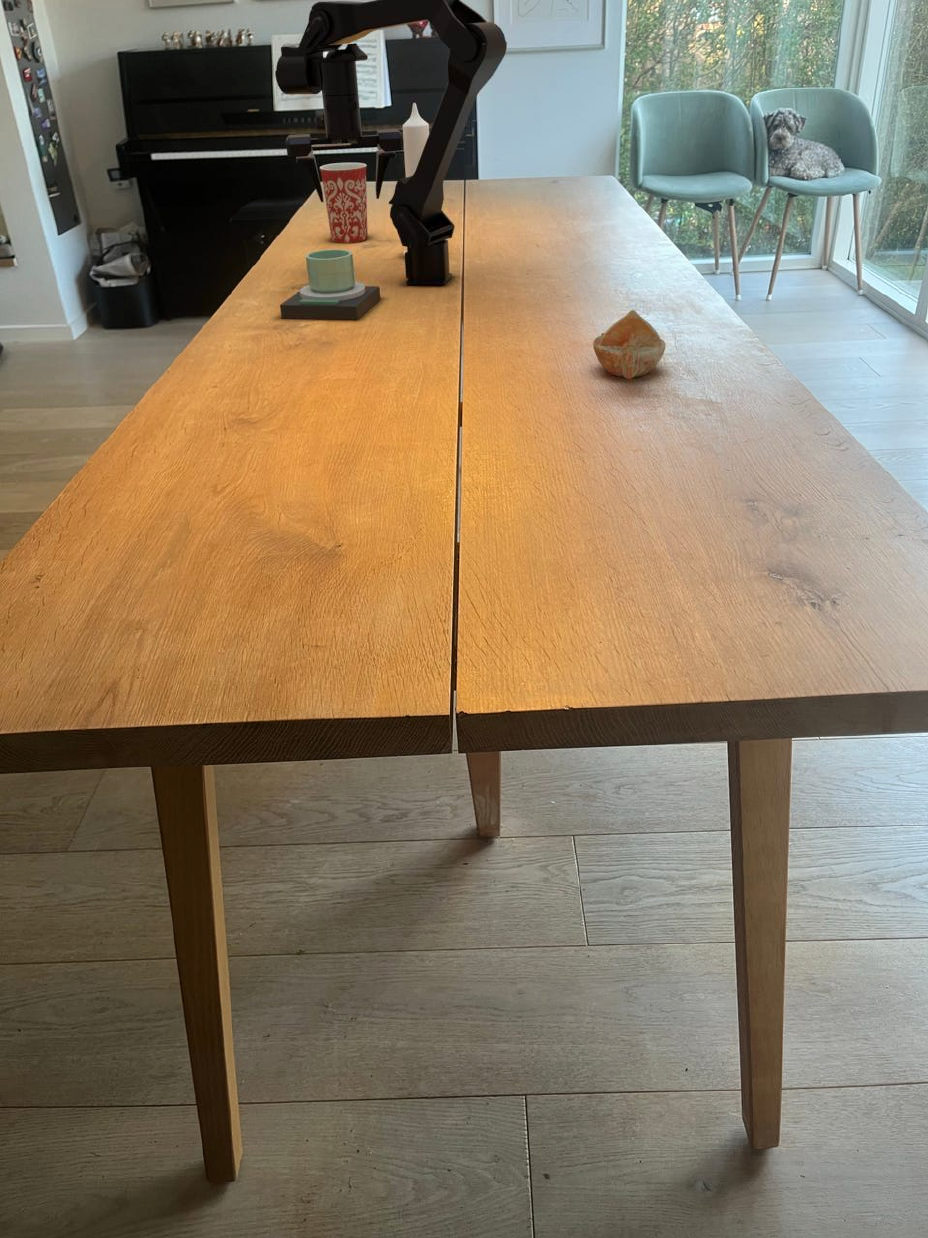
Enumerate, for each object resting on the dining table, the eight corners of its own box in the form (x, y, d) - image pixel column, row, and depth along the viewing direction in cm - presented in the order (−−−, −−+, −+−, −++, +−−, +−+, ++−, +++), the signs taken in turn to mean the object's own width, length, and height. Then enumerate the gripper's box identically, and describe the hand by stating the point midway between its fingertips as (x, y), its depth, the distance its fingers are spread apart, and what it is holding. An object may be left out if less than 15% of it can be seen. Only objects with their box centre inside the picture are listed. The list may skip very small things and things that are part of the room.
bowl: (361, 282, 153) (358, 249, 151) (347, 294, 148) (343, 259, 145) (318, 282, 155) (314, 248, 152) (303, 293, 149) (298, 259, 146)
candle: (444, 251, 184) (437, 100, 171) (439, 259, 178) (432, 103, 165) (406, 251, 185) (397, 101, 171) (401, 260, 179) (390, 105, 165)
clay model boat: (590, 398, 113) (593, 310, 108) (594, 343, 131) (596, 265, 126) (667, 399, 112) (673, 310, 107) (660, 343, 130) (665, 265, 125)
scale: (380, 299, 155) (379, 280, 154) (357, 319, 146) (355, 300, 144) (308, 297, 158) (306, 279, 156) (281, 318, 148) (278, 299, 147)
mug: (369, 243, 193) (363, 167, 186) (323, 244, 193) (315, 169, 186) (377, 230, 203) (371, 158, 196) (333, 231, 204) (326, 160, 197)
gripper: (395, 87, 164) (402, 189, 172) (282, 93, 162) (294, 195, 170) (400, 92, 154) (407, 199, 162) (280, 98, 152) (293, 206, 161)
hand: (350, 200), depth 164 cm, fingers open, 9 cm apart
